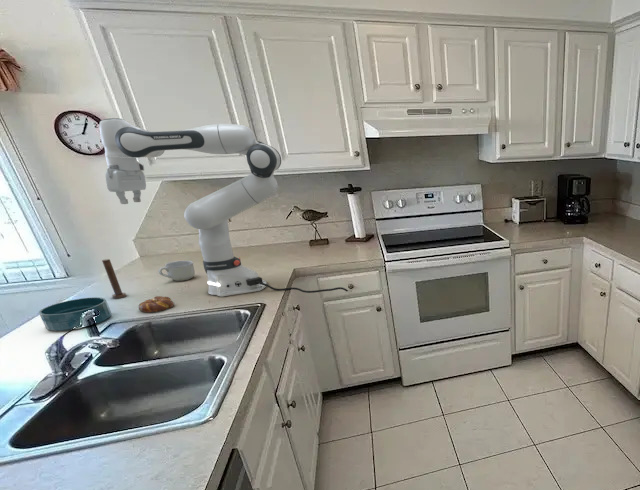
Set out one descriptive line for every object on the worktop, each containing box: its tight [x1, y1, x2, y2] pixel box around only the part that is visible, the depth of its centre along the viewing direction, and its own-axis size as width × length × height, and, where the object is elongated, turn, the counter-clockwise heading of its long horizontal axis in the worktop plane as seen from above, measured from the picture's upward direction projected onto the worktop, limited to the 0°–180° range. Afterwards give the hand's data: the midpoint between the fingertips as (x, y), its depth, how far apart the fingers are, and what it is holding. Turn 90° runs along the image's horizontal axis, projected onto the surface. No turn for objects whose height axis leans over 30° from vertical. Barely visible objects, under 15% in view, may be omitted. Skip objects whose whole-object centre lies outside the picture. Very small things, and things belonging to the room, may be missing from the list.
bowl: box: [38, 296, 112, 332], centre depth 148 cm, size 17×17×6 cm
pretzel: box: [137, 295, 175, 313], centre depth 161 cm, size 12×11×4 cm
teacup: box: [158, 259, 196, 282], centre depth 194 cm, size 14×11×8 cm
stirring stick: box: [101, 258, 127, 300], centre depth 171 cm, size 4×4×16 cm
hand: (131, 203), depth 159 cm, fingers open, 8 cm apart
